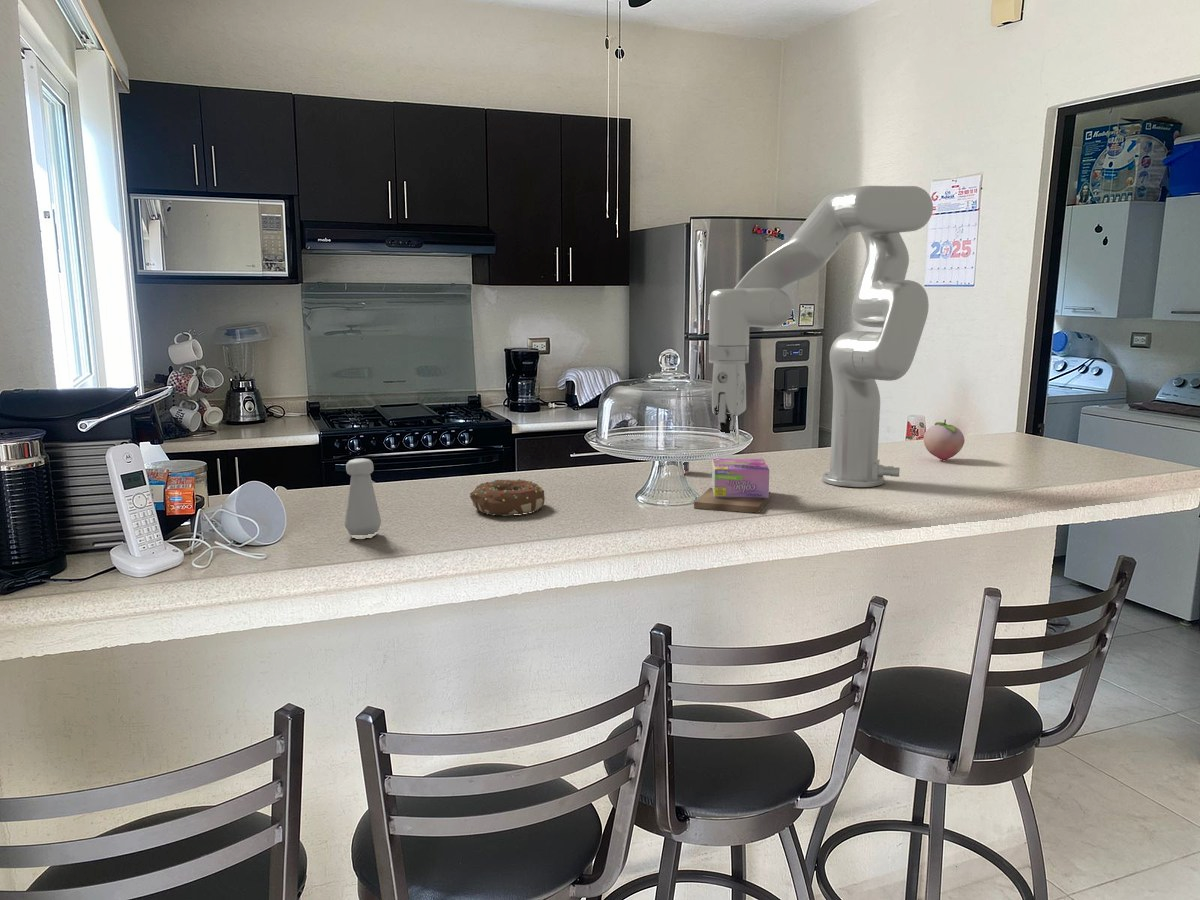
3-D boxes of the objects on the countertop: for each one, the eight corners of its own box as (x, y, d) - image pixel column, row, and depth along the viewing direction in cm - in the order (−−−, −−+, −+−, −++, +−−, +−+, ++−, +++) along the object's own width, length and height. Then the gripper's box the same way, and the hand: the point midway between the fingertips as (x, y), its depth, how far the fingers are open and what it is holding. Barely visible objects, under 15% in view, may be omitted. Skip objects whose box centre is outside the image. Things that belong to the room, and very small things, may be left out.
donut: (494, 499, 168) (493, 474, 167) (557, 505, 163) (556, 479, 162) (455, 516, 155) (454, 489, 154) (523, 523, 150) (522, 495, 149)
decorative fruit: (914, 458, 206) (916, 417, 204) (943, 456, 208) (946, 416, 207) (939, 465, 197) (941, 423, 196) (969, 463, 199) (972, 421, 198)
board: (770, 497, 166) (770, 491, 166) (758, 513, 154) (758, 506, 154) (710, 493, 171) (710, 487, 170) (693, 508, 159) (694, 501, 158)
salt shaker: (338, 537, 141) (333, 460, 138) (365, 530, 145) (360, 455, 143) (362, 543, 137) (357, 464, 135) (388, 534, 142) (384, 458, 140)
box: (764, 457, 171) (769, 469, 159) (763, 485, 172) (768, 499, 160) (712, 457, 172) (713, 469, 160) (711, 484, 173) (713, 498, 162)
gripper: (740, 357, 153) (738, 458, 156) (755, 353, 167) (753, 445, 170) (699, 357, 156) (698, 455, 159) (718, 352, 170) (716, 443, 173)
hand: (726, 450), depth 164 cm, fingers closed
